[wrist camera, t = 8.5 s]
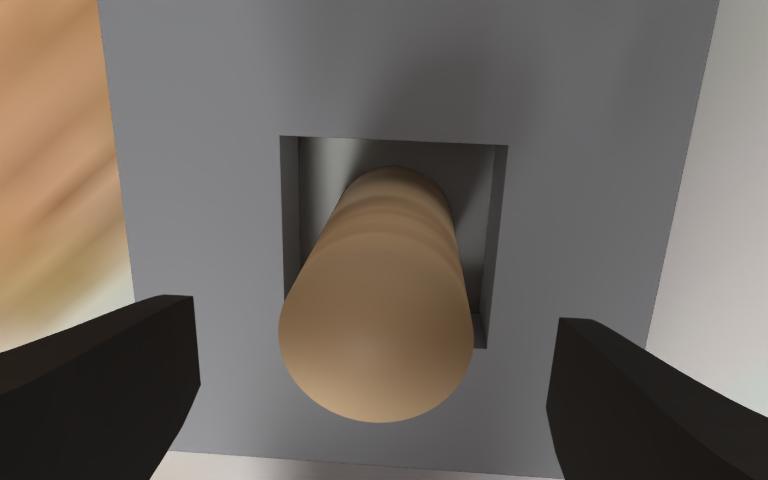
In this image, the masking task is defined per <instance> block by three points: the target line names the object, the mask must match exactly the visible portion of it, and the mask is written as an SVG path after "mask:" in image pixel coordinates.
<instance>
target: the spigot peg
mask: <svg viewBox="0 0 768 480" xmlns="http://www.w3.org/2000/svg"><path fill="white" fill-rule="evenodd" d="M278 339H279V345H280V351H281V354H282V357H283V360H284V363H285V365H286V367H287V369H288V371H289V373H290V375H291V376H292V378H293V379H294V381H295V382H296V383H297V385H298V386H299V387H300V388H301V389H302V390H303V391H304V392H305V393H306V394H307V395H308V396H309V397H310V398H311V399H312V400H314V401H315V402H317V403H318V404H319V405H321V406H322V407H324V408H326V409H328V410H330V411H331V412H334V413H336V414H338V415H341V416H343V417H347V418H350V419H353V420H358V421H364V422H374V423H385V422H395V421H402V420H406V419H409V418H413V417H416V416H418V415H421V414H423V413H425V412H427V411H429V410H431V409H433V408H434V407H436V406H437V405H439V404H440V403H441V402H443V401H444V400H445V399H446V398H447V397H448V396H449V395H451V394H452V393H453V391H454V390H455V389H456V388H457V386H458V385H459V384H460V382H461V381H462V379H463V377H464V376H465V374H466V372H467V369H468V367H469V364H470V361H471V357H472V353H473V345H474V333H473V325H472V320H471V315H470V309H469V304H468V299H467V293H466V288H465V283H464V278H463V272H462V267H461V262H460V257H459V251H458V246H457V241H456V236H455V230H454V225H453V220H452V215H451V210H450V206H449V204H448V201H447V199H446V197H445V195H444V194H443V192H442V191H441V189H440V188H439V187H438V186H437V185H436V184H435V183H434V182H433V181H432V180H431V179H429V178H428V177H426V176H425V175H423V174H422V173H419V172H417V171H415V170H412V169H409V168H404V167H396V166H389V167H381V168H377V169H374V170H371V171H368V172H366V173H364V174H363V175H361V176H360V177H358V178H357V179H355V180H354V181H353V182H352V183H351V184H350V185H349V186H348V187H347V189H346V190H345V191H344V193H343V195H342V196H341V198H340V200H339V202H338V203H337V205H336V207H335V209H334V211H333V213H332V214H331V216H330V218H329V220H328V222H327V224H326V225H325V227H324V229H323V231H322V233H321V235H320V236H319V238H318V240H317V242H316V244H315V246H314V248H313V249H312V251H311V253H310V255H309V257H308V259H307V260H306V262H305V264H304V266H303V268H302V270H301V271H300V273H299V275H298V277H297V279H296V281H295V282H294V284H293V286H292V288H291V290H290V292H289V293H288V295H287V297H286V300H285V302H284V304H283V306H282V310H281V314H280V318H279V326H278Z"/></svg>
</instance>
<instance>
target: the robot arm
mask: <svg viewBox="0 0 768 480" xmlns="http://www.w3.org/2000/svg"><path fill="white" fill-rule="evenodd" d="M200 386H201V380H200V368H199V356H198V345H197V333H196V321H195V310H194V298H193V296H185V295H168V294H163V295H158V296H154V297H150V298H147V299H144V300H141V301H138V302H136V303H133V304H130V305H128V306H125V307H122V308H120V309H117V310H115V311H112V312H110V313H107V314H104V315H102V316H99V317H97V318H94V319H92V320H89V321H87V322H84V323H82V324H79V325H77V326H74V327H72V328H69V329H66V330H63V331H61V332H58V333H55V334H52V335H50V336H47V337H44V338H41V339H39V340H36V341H33V342H30V343H28V344H25V345H22V346H19V347H17V348H14V349H11V350H8V351H5V352H2V353H0V480H149V479H150V478H151V476H152V475H153V473H154V472H155V470H156V468H157V467H158V465H159V464H160V462H161V461H162V459H163V457H164V456H165V454H166V453H167V451H168V449H169V448H170V446H171V445H172V443H173V441H174V440H175V438H176V437H177V435H178V433H179V432H180V430H181V428H182V426H183V424H184V422H185V420H186V418H187V416H188V414H189V411H190V409H191V407H192V405H193V402H194V400H195V398H196V395H197V393H198V391H199V388H200ZM546 412H547V417H548V422H549V427H550V432H551V436H552V440H553V445H554V449H555V453H556V456H557V459H558V462H559V465H560V468H561V470H562V473H563V476H564V479H565V480H768V417H765V416H763V415H761V414H759V413H757V412H755V411H752V410H750V409H748V408H746V407H744V406H742V405H740V404H738V403H736V402H734V401H732V400H730V399H729V398H727V397H725V396H723V395H721V394H719V393H718V392H716V391H714V390H712V389H710V388H708V387H707V386H705V385H703V384H701V383H699V382H698V381H696V380H694V379H692V378H691V377H689V376H687V375H685V374H684V373H682V372H680V371H679V370H677V369H675V368H674V367H672V366H670V365H669V364H667V363H665V362H664V361H662V360H660V359H659V358H657V357H656V356H654V355H652V354H651V353H649V352H647V351H646V350H644V349H643V348H641V347H639V346H638V345H636V344H635V343H633V342H632V341H630V340H628V339H627V338H625V337H624V336H622V335H620V334H619V333H617V332H615V331H614V330H612V329H610V328H609V327H607V326H605V325H603V324H601V323H599V322H597V321H595V320H593V319H584V318H566V317H559V322H558V329H557V335H556V342H555V349H554V355H553V362H552V368H551V375H550V382H549V388H548V395H547V401H546Z"/></svg>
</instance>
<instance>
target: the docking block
mask: <svg viewBox="0 0 768 480" xmlns="http://www.w3.org/2000/svg"><path fill="white" fill-rule="evenodd" d="M97 2H98V10H99V18H100V26H101V34H102V42H103V50H104V58H105V66H106V74H107V82H108V90H109V98H110V105H111V113H112V121H113V129H114V137H115V145H116V153H117V161H118V169H119V177H120V185H121V193H122V201H123V209H124V217H125V225H126V232H127V240H128V248H129V256H130V264H131V272H132V280H133V288H134V296H135V303H136V302H138V301H141V300H144V299H147V298H150V297H154V296H158V295H163V294H168V295H185V296H193V298H194V310H195V321H196V333H197V345H198V356H199V368H200V380H201V386H200V388H199V391H198V393H197V395H196V398H195V400H194V402H193V405H192V407H191V409H190V411H189V414H188V416H187V418H186V420H185V422H184V424H183V426H182V428H181V430H180V432H179V433H178V435H177V437H176V438H175V440H174V441H173V443H172V445H171V446H170V448H169V449H168V451H180V452H194V453H208V454H222V455H236V456H250V457H264V458H278V459H291V460H305V461H319V462H333V463H347V464H361V465H375V466H389V467H403V468H417V469H431V470H445V471H458V472H472V473H486V474H500V475H514V476H528V477H542V478H556V479H564V476H563V473H562V470H561V468H560V465H559V462H558V459H557V456H556V453H555V449H554V445H553V440H552V436H551V432H550V427H549V422H548V417H547V412H546V401H547V395H548V388H549V382H550V375H551V368H552V362H553V355H554V349H555V342H556V335H557V329H558V322H559V317H566V318H584V319H593V320H595V321H597V322H599V323H601V324H603V325H605V326H607V327H609V328H610V329H612V330H614V331H615V332H617V333H619V334H620V335H622V336H624V337H625V338H627V339H628V340H630V341H632V342H633V343H635V344H636V345H638V346H639V347H641V348H643V349H644V350H645V346H646V342H647V337H648V332H649V328H650V323H651V318H652V314H653V309H654V304H655V300H656V295H657V290H658V286H659V281H660V276H661V272H662V267H663V262H664V258H665V253H666V248H667V244H668V239H669V234H670V230H671V225H672V220H673V216H674V211H675V206H676V201H677V197H678V192H679V187H680V183H681V178H682V173H683V169H684V164H685V159H686V155H687V150H688V145H689V141H690V136H691V131H692V127H693V122H694V117H695V113H696V108H697V103H698V99H699V94H700V89H701V85H702V80H703V75H704V71H705V66H706V61H707V57H708V52H709V47H710V43H711V38H712V33H713V28H714V24H715V19H716V14H717V10H718V5H719V0H97ZM298 136H308V137H331V138H354V139H377V140H400V141H423V142H446V143H470V144H493V145H496V146H495V156H494V166H493V176H492V186H491V196H490V206H489V217H488V227H487V237H486V247H485V257H484V267H483V277H482V287H481V297H480V307H479V313H470V315H471V320H472V325H473V333H474V345H473V353H472V357H471V361H470V364H469V367H468V369H467V372H466V374H465V376H464V377H463V379H462V381H461V382H460V384H459V385H458V386H457V388H456V389H455V390H454V391H453V393H452V394H451V395H449V396H448V397H447V398H446V399H445V400H444V401H443V402H441V403H440V404H439V405H437V406H436V407H434V408H433V409H431V410H429V411H427V412H425V413H423V414H421V415H418V416H416V417H413V418H409V419H406V420H402V421H395V422H385V423H374V422H364V421H358V420H353V419H350V418H347V417H343V416H341V415H338V414H336V413H334V412H331V411H330V410H328V409H326V408H324V407H322V406H321V405H319V404H318V403H317V402H315V401H314V400H312V399H311V398H310V397H309V396H308V395H307V394H306V393H305V392H304V391H303V390H302V389H301V388H300V387H299V386H298V385H297V383H296V382H295V381H294V379H293V378H292V376H291V375H290V373H289V371H288V369H287V367H286V365H285V363H284V360H283V357H282V354H281V351H280V345H279V339H278V326H279V318H280V314H281V310H282V306H283V304H284V302H285V300H286V297H287V295H288V293H289V292H290V290H291V288H292V286H293V284H294V282H295V281H296V279H297V277H298V275H299V273H300V271H301V264H300V207H299V150H298Z"/></svg>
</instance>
